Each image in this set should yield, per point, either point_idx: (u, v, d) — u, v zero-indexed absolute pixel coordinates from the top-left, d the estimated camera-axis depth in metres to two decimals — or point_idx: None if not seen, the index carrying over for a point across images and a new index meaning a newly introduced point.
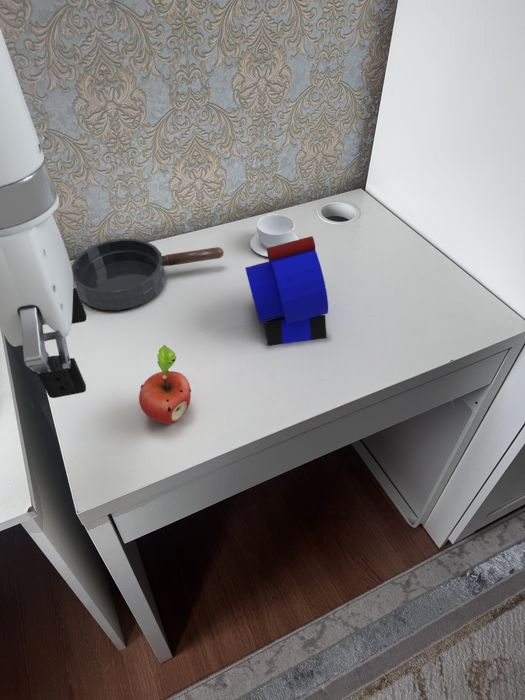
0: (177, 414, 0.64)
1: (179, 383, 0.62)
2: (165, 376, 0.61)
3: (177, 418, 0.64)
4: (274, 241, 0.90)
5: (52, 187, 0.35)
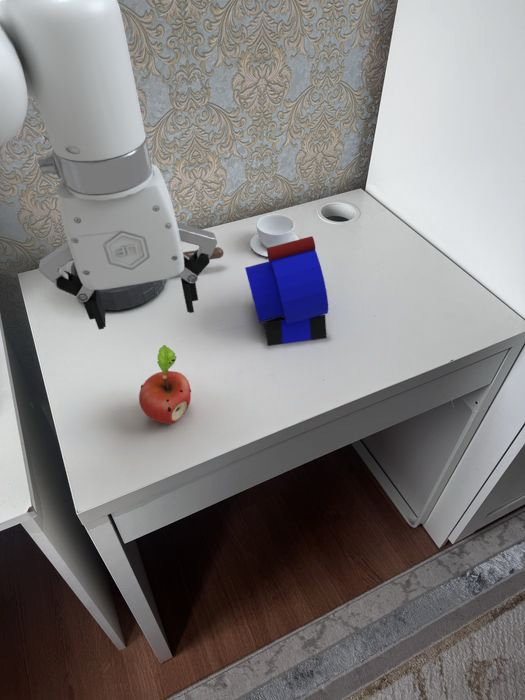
0: (177, 414, 0.64)
1: (179, 383, 0.62)
2: (165, 376, 0.61)
3: (177, 418, 0.64)
4: (274, 241, 0.90)
5: None
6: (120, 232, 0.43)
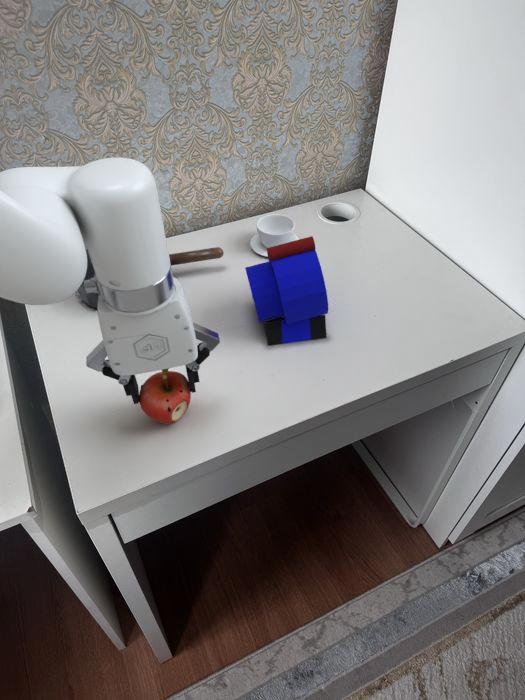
0: (177, 414, 0.64)
1: (179, 383, 0.62)
2: (165, 376, 0.61)
3: (177, 418, 0.64)
4: (274, 241, 0.90)
5: None
6: (147, 335, 0.52)
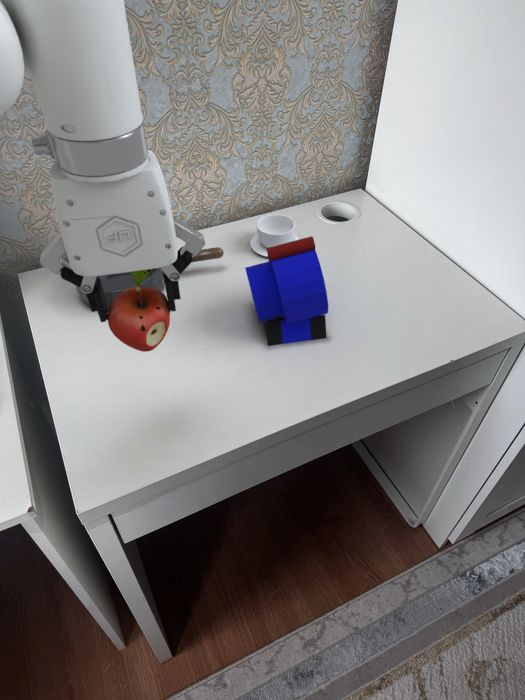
0: (153, 339, 0.53)
1: (155, 299, 0.52)
2: (139, 288, 0.50)
3: (153, 344, 0.54)
4: (274, 241, 0.90)
5: None
6: (113, 217, 0.42)
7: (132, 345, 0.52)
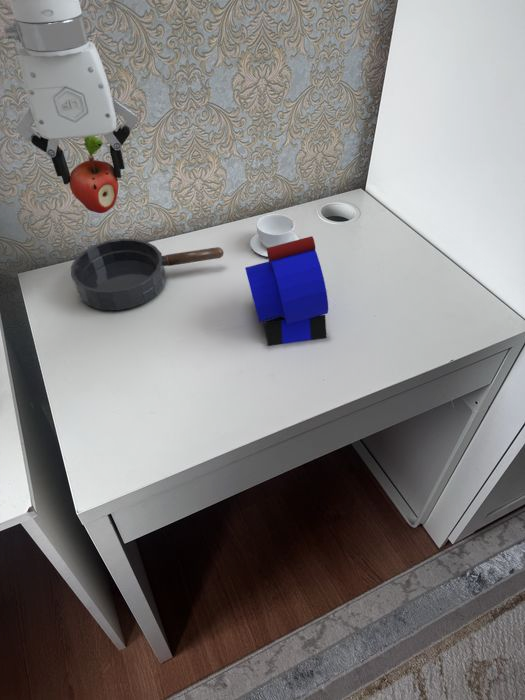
0: (105, 200, 0.71)
1: (105, 168, 0.69)
2: (91, 156, 0.67)
3: (105, 205, 0.71)
4: (274, 241, 0.90)
5: None
6: (64, 88, 0.59)
7: (88, 202, 0.69)
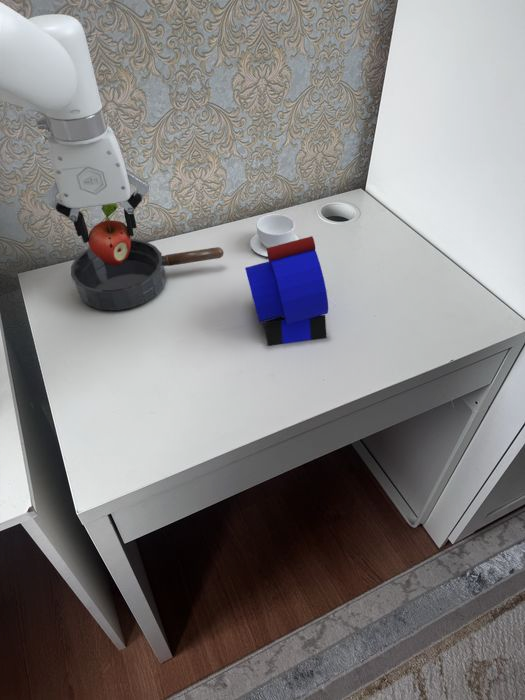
0: (119, 255, 0.80)
1: (119, 227, 0.78)
2: (107, 219, 0.77)
3: (120, 259, 0.80)
4: (274, 241, 0.90)
5: None
6: (86, 168, 0.68)
7: (105, 258, 0.79)
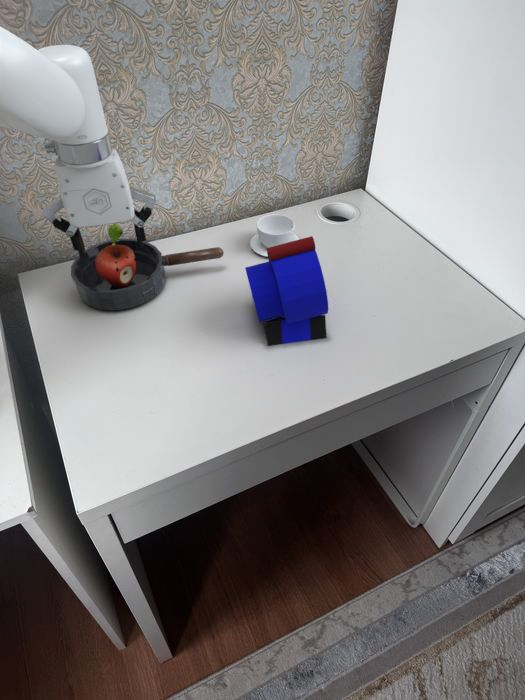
0: (125, 278, 0.83)
1: (125, 252, 0.82)
2: (114, 244, 0.80)
3: (125, 282, 0.84)
4: (274, 241, 0.90)
5: None
6: (92, 189, 0.71)
7: (111, 281, 0.82)
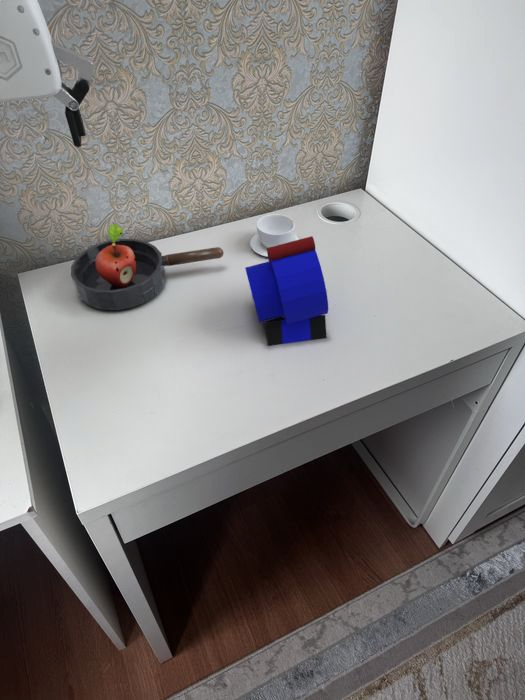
0: (125, 278, 0.83)
1: (125, 252, 0.82)
2: (114, 244, 0.80)
3: (125, 282, 0.84)
4: (274, 241, 0.90)
5: None
6: None
7: (111, 281, 0.82)
